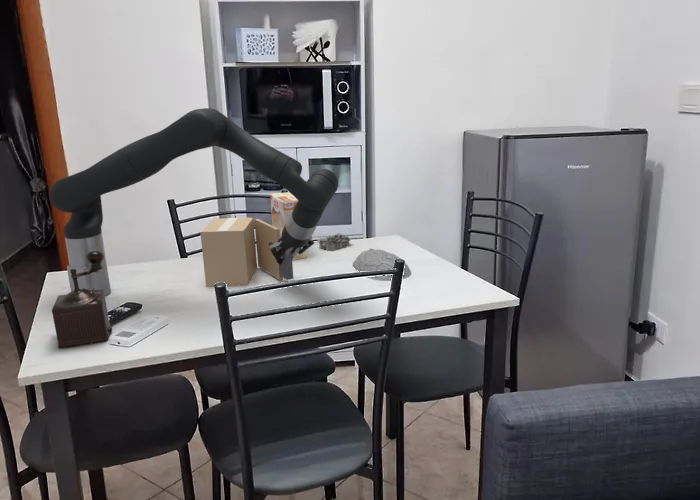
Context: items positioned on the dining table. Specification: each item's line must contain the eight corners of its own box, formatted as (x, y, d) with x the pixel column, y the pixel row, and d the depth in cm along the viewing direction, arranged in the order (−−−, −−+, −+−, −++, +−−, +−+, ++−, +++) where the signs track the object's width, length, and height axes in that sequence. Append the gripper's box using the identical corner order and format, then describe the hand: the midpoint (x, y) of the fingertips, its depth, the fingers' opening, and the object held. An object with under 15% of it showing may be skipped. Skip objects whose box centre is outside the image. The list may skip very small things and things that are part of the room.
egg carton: (329, 252, 196) (328, 241, 195) (315, 248, 202) (315, 237, 201) (353, 246, 203) (353, 234, 202) (339, 242, 208) (339, 231, 207)
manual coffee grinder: (111, 341, 133) (99, 265, 128) (57, 349, 130) (43, 272, 125) (114, 316, 147) (104, 247, 142) (66, 323, 144) (53, 253, 139)
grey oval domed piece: (379, 284, 163) (380, 260, 162) (339, 265, 185) (340, 244, 184) (425, 280, 170) (426, 257, 169) (382, 262, 192) (383, 242, 191)
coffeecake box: (273, 250, 201) (269, 193, 195) (293, 247, 203) (289, 191, 198) (286, 261, 187) (282, 201, 182) (307, 258, 190) (304, 199, 185)
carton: (218, 268, 182) (213, 218, 177) (257, 267, 182) (253, 217, 177) (206, 286, 167) (200, 231, 162) (248, 285, 166) (243, 230, 162)
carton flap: (258, 266, 182) (254, 219, 177) (264, 265, 183) (260, 218, 178) (287, 284, 164) (283, 233, 160) (293, 283, 165) (290, 231, 161)
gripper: (318, 211, 158) (300, 245, 171) (270, 219, 151) (255, 253, 165) (328, 234, 155) (309, 267, 168) (280, 243, 148) (264, 276, 162)
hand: (282, 260), depth 166 cm, fingers closed on carton flap, 2 cm apart
